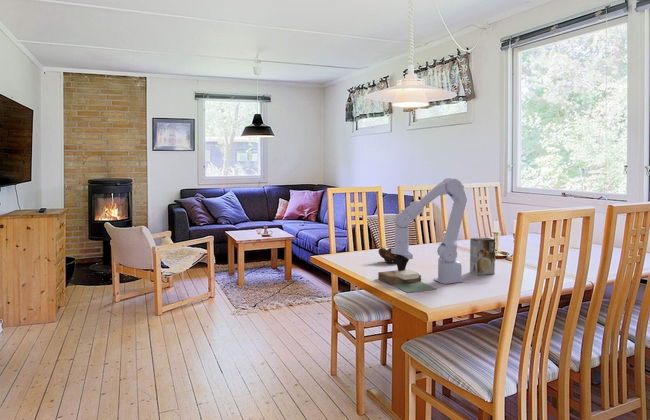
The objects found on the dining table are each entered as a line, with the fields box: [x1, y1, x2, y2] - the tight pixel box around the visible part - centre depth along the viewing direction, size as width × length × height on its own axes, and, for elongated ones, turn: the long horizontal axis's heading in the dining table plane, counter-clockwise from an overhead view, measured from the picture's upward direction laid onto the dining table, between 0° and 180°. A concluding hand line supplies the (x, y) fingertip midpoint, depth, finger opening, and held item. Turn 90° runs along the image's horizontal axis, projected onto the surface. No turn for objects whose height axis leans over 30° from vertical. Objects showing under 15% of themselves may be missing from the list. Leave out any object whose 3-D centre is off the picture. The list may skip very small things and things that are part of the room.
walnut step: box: [377, 269, 422, 286], centre depth 201 cm, size 14×12×3 cm
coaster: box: [395, 269, 420, 280], centre depth 196 cm, size 7×7×2 cm
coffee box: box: [469, 237, 496, 276], centre depth 214 cm, size 9×6×16 cm
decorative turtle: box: [378, 247, 397, 264], centre depth 238 cm, size 10×15×8 cm, turn 99°
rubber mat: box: [391, 281, 438, 294], centre depth 191 cm, size 14×12×1 cm
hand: (401, 272), depth 200 cm, fingers closed
